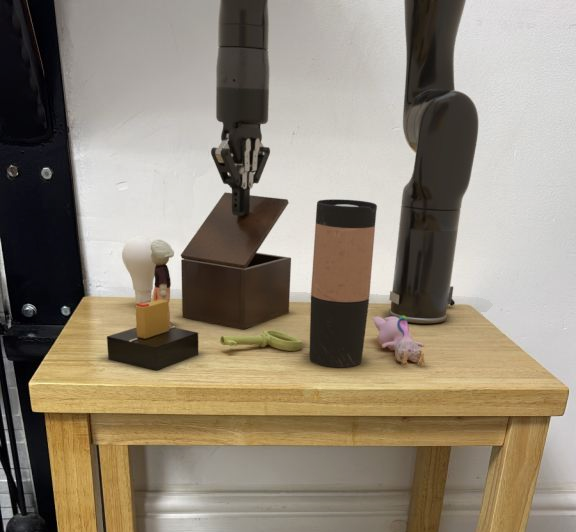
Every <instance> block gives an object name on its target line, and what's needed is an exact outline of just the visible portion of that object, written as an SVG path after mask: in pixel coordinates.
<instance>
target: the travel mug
mask: <svg viewBox="0 0 576 532" xmlns="http://www.w3.org/2000/svg"><path fill="white" fill-rule="evenodd" d="M377 210H378V205H377V203H374V202H371V201H365V200H357V199H356V200H354V199H341V198H340V199H336V198H335V199H333V198H332V199H319V200H317V202H316V213H315V226H314V239H313V240H314V242H313V244H314V245H313V255H312V256H313V257H312V274H311V288H310V313H309V314H310V315H309V316H310V318H309V320H310V321H309V360H310V361H311V362H312V363H314V364H316V365H319V366H321V367H322V366H323V367H328V368H351V367H356V366H358V365H360V364H361V363H362V361H363V354H364V353H363V352H364V344H365V336H366V327H367V319H368V312H369V303H370V296H371V295H370V294H371V282H372V281H371V280H372V270H373V269H372V268H373V256H374V245H375V233H376V231H375V230H376V219H377Z"/></svg>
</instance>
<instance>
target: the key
mask: <svg viewBox="0 0 576 532" xmlns="http://www.w3.org/2000/svg"><path fill="white" fill-rule="evenodd" d="M219 341H220V344H221V345H222V346H229V347H232V346H233V347H234V346H235V347H237V346H244V345H245V346H246V345H247V346H248V345H251V346H253V345H256V346H257V345H259V347H261V348H265V347H266V346H267V345H269V346H271V347H273V348H276V349H280V350H283V351H291V352H293V351H300V350H301V349H302V347H303V340H301V339H300V338H298V337H296V336H294V335H292V334H289V333H287V332H283V331H280V330H274V329H265V330H263V331H262V332H261V333H259V335H221V336H220V340H219Z"/></svg>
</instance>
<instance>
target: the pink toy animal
mask: <svg viewBox="0 0 576 532" xmlns="http://www.w3.org/2000/svg"><path fill="white" fill-rule="evenodd" d="M372 320H373V324H374V326H375V328H376V329H377V331H378V335H377V342H378V343H379V344H380V345H381V348H383V349H385V348H388V349H389V351H394V356H395V359H396V361H397V362H399V363H401V364H402V365H403V367H405V364H407V365H409V362H408V360H409V361H410V362H412V363H417V364H418V365H419V364H420V366H421V367H423V365H425V364H426V363H425V358H424V353H423V350H422V349H420V348H424V347H425V343H424V342H418V341H415V340H413V335H412V333H410V330H409V324H408V323H409V322H407V320H406V316H404V315H403V316H401V317H400V318H397V317H394V316H392V317H391V316H387V317H385V318H382V317H381V316H373V318H372ZM422 364H423V365H422Z"/></svg>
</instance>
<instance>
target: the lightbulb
mask: <svg viewBox="0 0 576 532" xmlns="http://www.w3.org/2000/svg"><path fill="white" fill-rule="evenodd" d="M153 241H154V240H153V239H151V238H150V237H148V236H144V235H137V236H133V237H132V238H130V239H128V240H127V242H126V243H125V244H124V246H123V248H122V252H121V257H122V262H123V264H124V266H125V269H126V271H127V272H128V273H129V276H130V277H131V282H132V288H133V291H134V298H135V303H137V304H139V303H149V302H152V296H153V290H154V281H155V275H154V272H155V266H156V264H155V263H154V262H153V261H152V259H151V253H152V251H151V244H152V242H153Z"/></svg>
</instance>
